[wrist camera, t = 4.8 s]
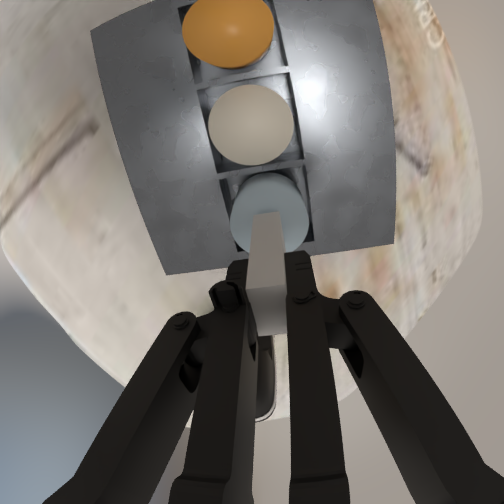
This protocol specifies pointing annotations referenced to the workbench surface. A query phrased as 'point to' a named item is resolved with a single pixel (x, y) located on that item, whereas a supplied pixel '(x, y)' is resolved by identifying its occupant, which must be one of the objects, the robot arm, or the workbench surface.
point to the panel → (287, 163)
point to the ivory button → (250, 124)
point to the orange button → (228, 32)
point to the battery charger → (266, 378)
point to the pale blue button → (269, 209)
